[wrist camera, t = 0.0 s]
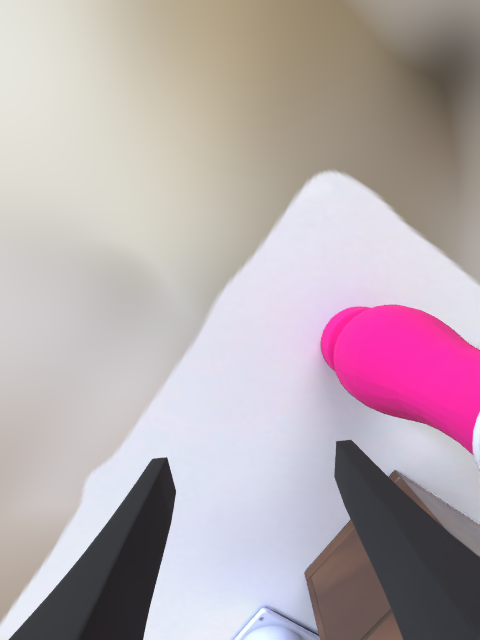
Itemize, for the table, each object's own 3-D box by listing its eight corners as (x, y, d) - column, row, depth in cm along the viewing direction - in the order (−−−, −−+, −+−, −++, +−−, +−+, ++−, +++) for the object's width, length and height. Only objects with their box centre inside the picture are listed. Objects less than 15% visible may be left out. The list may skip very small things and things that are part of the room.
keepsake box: (480, 525, 23) (570, 614, 17) (388, 619, 24) (438, 731, 18) (394, 469, 22) (457, 542, 16) (303, 572, 23) (327, 673, 17)
